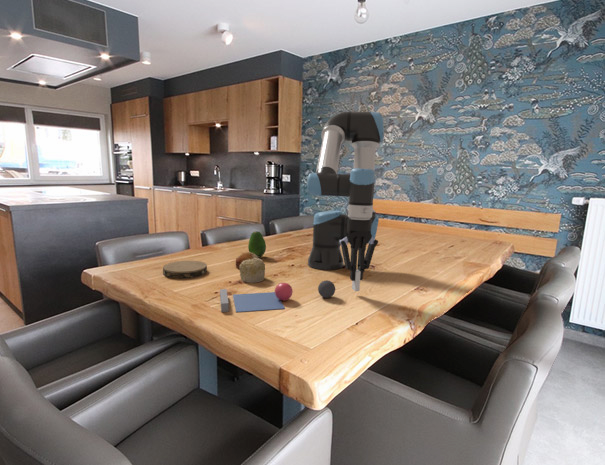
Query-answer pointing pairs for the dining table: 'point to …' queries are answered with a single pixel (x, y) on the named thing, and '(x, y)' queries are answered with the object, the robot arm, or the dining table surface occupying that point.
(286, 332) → the dining table surface
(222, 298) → the wall
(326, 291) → the dark gray ball
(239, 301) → the blue flat square slab
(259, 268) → the coral
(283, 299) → the red object ball
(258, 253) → the fruit
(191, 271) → the round stone disc
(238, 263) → the bread roll
